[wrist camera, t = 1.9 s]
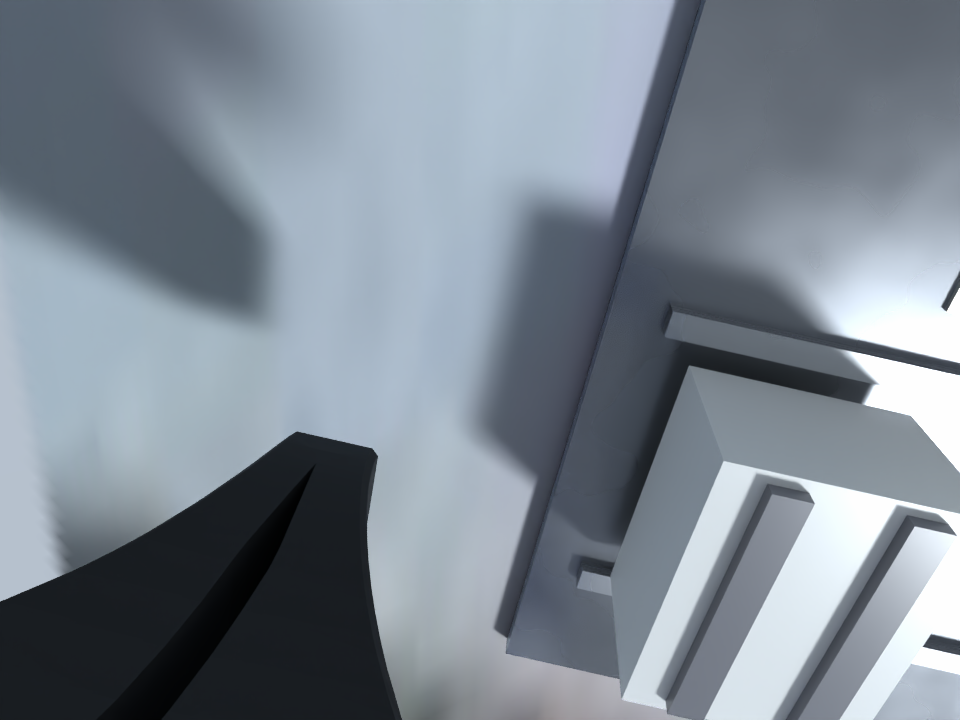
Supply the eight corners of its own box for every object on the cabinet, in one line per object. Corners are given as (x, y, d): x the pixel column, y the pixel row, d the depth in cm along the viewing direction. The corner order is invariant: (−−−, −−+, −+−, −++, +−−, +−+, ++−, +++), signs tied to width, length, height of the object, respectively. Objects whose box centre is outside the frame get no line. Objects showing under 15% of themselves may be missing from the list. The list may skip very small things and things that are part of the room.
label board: (993, 749, 17) (1008, 777, 17) (506, 640, 17) (504, 663, 17) (1572, 36, 10) (1637, 38, 10) (746, -150, 10) (758, -159, 10)
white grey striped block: (798, 618, 15) (856, 765, 12) (610, 575, 15) (622, 712, 12) (911, 415, 13) (1015, 536, 10) (689, 365, 13) (727, 471, 10)
